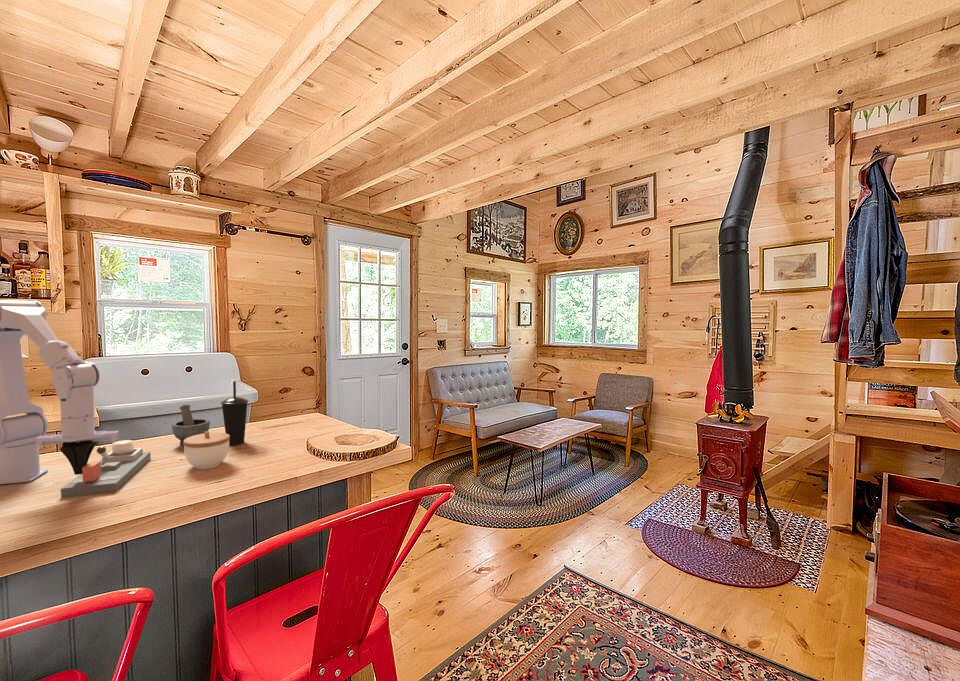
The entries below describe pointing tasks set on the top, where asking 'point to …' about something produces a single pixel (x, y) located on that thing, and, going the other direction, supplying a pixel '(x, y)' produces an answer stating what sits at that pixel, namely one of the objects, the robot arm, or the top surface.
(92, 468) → the slide paddle
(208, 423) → the mortar and pestle
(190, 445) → the lidded jar
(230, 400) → the drinking cup
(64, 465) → the top surface
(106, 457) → the toggle lever
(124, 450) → the push button
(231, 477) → the top surface
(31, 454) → the robot arm
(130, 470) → the panel
